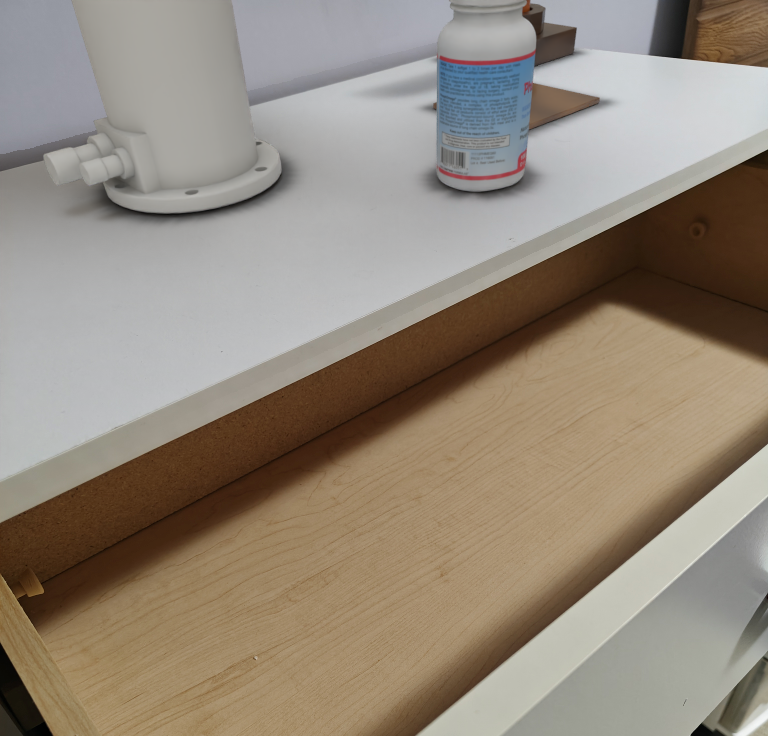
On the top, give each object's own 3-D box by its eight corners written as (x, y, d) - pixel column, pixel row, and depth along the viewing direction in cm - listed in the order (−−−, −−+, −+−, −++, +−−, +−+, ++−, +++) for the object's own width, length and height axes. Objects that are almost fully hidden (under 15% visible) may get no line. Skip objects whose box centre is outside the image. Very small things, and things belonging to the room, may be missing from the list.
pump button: (512, 19, 65) (514, -4, 64) (485, 15, 67) (486, -7, 66) (536, 12, 67) (539, -10, 66) (509, 8, 69) (510, -13, 68)
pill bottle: (539, 186, 46) (562, -25, 38) (453, 200, 45) (459, -13, 37) (503, 157, 50) (517, -39, 42) (424, 169, 49) (423, -29, 41)
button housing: (508, 74, 65) (512, 24, 62) (442, 60, 70) (442, 12, 67) (574, 53, 69) (580, 5, 67) (507, 41, 74) (510, -5, 71)
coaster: (521, 132, 53) (521, 127, 53) (432, 108, 59) (432, 103, 59) (599, 102, 58) (600, 97, 57) (510, 82, 63) (510, 77, 63)
